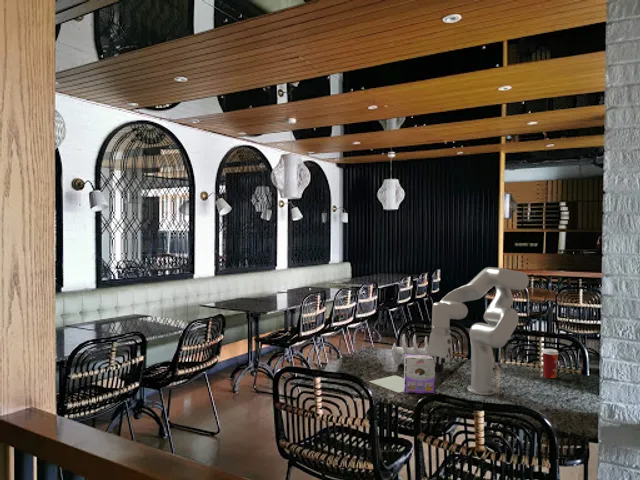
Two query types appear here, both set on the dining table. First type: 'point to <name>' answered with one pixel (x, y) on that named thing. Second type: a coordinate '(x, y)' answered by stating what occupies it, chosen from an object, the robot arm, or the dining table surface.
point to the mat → (391, 383)
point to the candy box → (419, 374)
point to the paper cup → (550, 362)
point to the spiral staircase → (408, 350)
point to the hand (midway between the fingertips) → (439, 372)
